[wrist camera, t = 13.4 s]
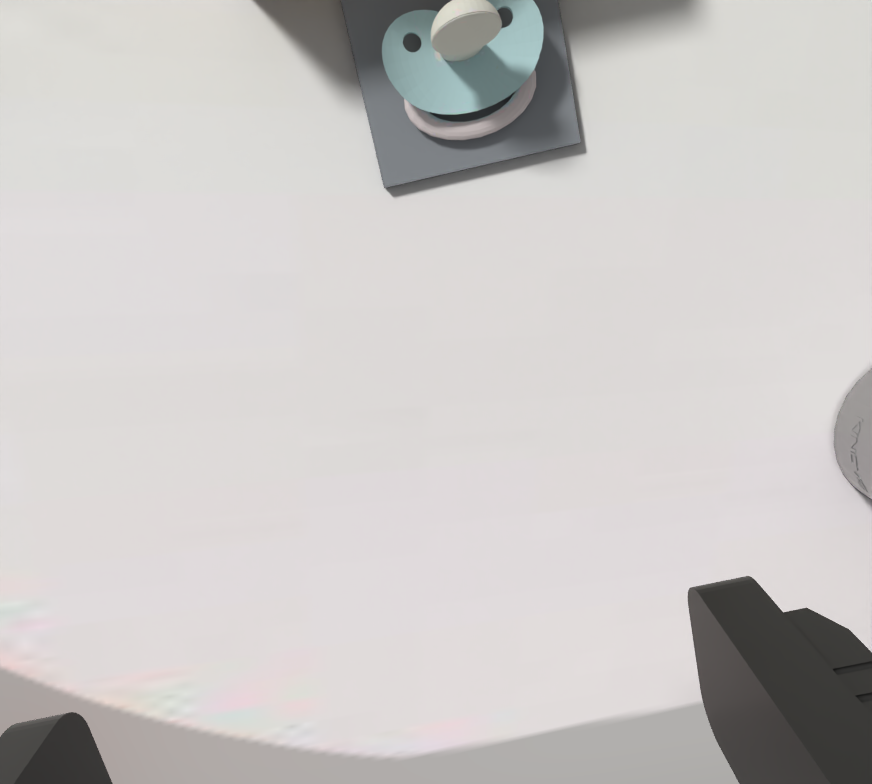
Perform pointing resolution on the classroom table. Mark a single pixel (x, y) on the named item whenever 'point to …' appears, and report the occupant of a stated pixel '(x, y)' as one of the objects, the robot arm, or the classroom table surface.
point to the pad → (430, 156)
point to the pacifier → (465, 64)
